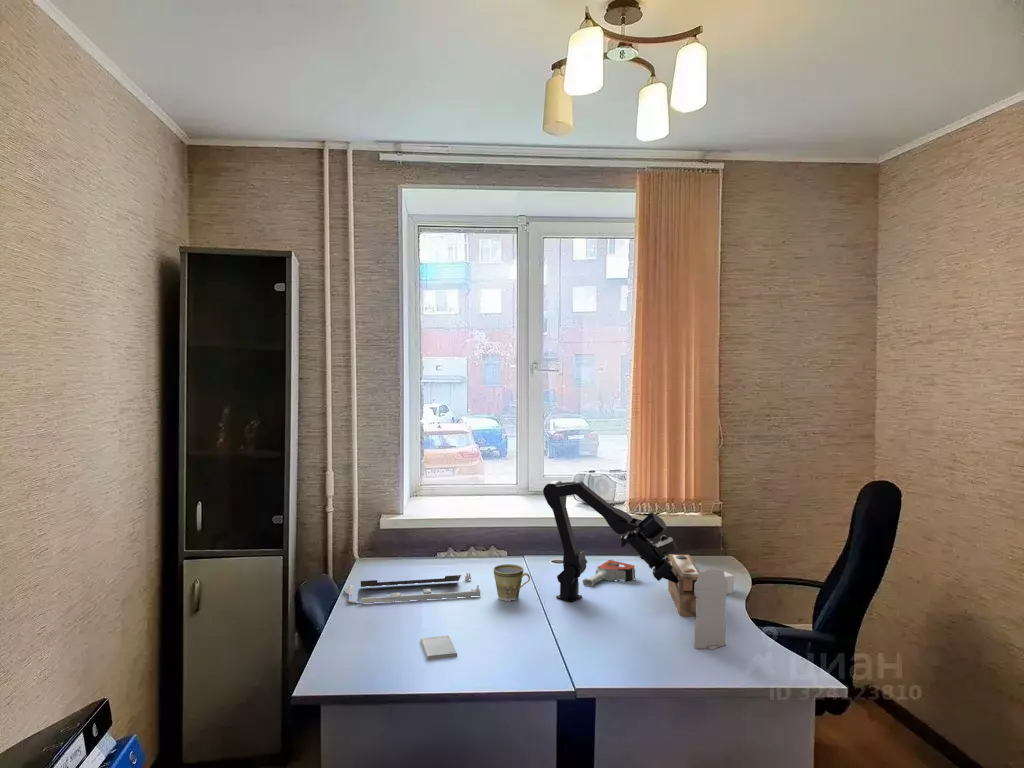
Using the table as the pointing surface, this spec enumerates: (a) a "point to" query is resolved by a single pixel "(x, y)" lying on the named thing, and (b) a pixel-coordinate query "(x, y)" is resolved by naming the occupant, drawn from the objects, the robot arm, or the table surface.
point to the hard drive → (438, 647)
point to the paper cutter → (423, 596)
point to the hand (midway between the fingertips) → (677, 582)
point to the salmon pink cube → (687, 585)
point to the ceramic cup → (509, 581)
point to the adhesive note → (729, 581)
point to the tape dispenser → (611, 572)
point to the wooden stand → (685, 571)
